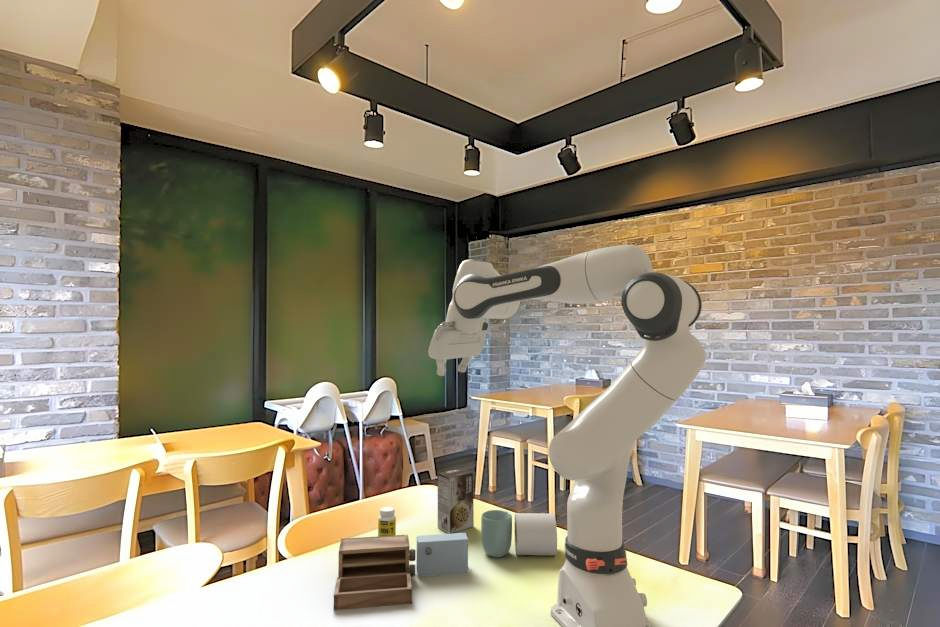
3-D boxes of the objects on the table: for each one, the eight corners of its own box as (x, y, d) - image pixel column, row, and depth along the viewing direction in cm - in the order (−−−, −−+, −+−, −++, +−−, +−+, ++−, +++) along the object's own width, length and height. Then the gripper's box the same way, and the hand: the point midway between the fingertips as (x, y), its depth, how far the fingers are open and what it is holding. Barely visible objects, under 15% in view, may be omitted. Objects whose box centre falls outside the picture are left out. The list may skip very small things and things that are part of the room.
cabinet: (418, 602, 108) (418, 566, 108) (333, 609, 105) (334, 572, 105) (413, 565, 125) (413, 534, 126) (340, 570, 122) (341, 538, 123)
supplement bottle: (378, 543, 138) (378, 512, 139) (377, 537, 143) (378, 506, 143) (396, 542, 139) (396, 511, 140) (395, 535, 144) (395, 505, 144)
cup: (500, 563, 126) (500, 522, 127) (475, 555, 131) (475, 515, 132) (517, 553, 133) (517, 514, 133) (492, 545, 137) (492, 507, 138)
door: (468, 575, 120) (468, 540, 121) (417, 579, 119) (418, 544, 119) (465, 565, 125) (465, 532, 126) (416, 569, 123) (416, 535, 124)
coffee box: (460, 520, 156) (460, 467, 156) (474, 526, 151) (474, 471, 151) (436, 527, 150) (436, 472, 151) (449, 534, 145) (449, 477, 146)
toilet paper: (551, 545, 137) (551, 508, 138) (557, 562, 127) (557, 521, 128) (514, 545, 138) (514, 507, 138) (517, 561, 128) (517, 521, 128)
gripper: (450, 325, 119) (437, 381, 121) (493, 324, 136) (481, 373, 138) (429, 318, 122) (416, 373, 124) (473, 318, 140) (462, 366, 141)
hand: (451, 373), depth 131 cm, fingers open, 8 cm apart
